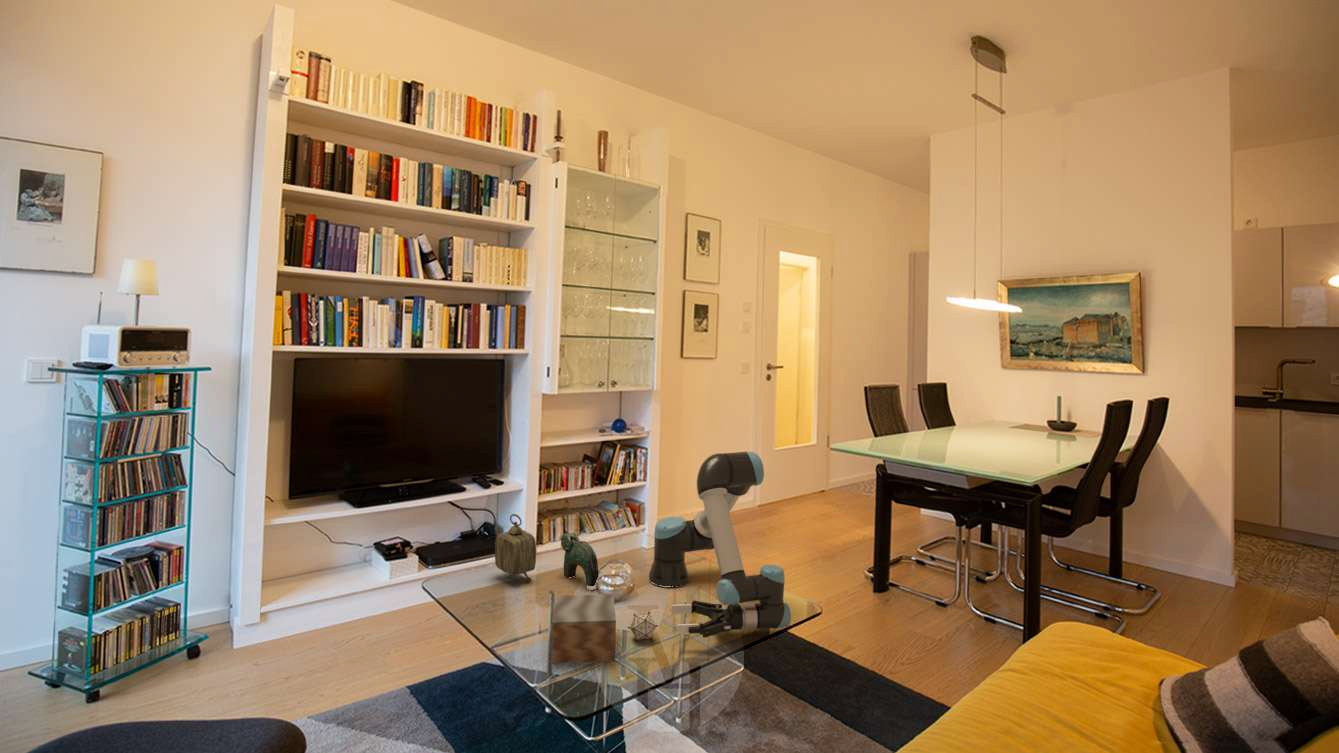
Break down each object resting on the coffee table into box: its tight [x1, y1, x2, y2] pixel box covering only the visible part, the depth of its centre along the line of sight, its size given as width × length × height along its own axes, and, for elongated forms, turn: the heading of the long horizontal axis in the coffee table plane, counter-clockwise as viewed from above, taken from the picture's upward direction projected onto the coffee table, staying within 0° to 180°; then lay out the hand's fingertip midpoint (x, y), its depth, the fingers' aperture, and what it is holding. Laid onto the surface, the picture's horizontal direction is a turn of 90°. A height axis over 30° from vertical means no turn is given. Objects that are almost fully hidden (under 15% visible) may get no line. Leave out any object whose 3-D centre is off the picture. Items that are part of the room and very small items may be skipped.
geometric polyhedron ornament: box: [627, 611, 659, 643], centre depth 197 cm, size 9×8×10 cm
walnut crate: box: [551, 593, 617, 664], centre depth 192 cm, size 18×18×12 cm
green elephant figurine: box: [560, 528, 600, 586], centre depth 239 cm, size 20×6×20 cm, turn 42°
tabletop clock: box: [494, 513, 537, 583], centre depth 239 cm, size 14×9×25 cm, turn 48°
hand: (674, 618), depth 198 cm, fingers open, 13 cm apart
